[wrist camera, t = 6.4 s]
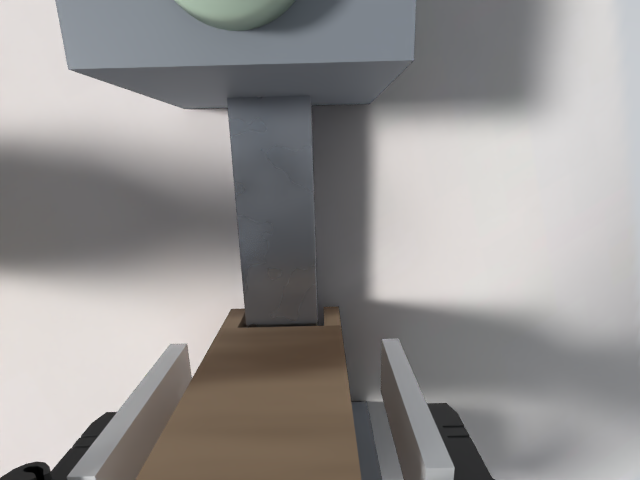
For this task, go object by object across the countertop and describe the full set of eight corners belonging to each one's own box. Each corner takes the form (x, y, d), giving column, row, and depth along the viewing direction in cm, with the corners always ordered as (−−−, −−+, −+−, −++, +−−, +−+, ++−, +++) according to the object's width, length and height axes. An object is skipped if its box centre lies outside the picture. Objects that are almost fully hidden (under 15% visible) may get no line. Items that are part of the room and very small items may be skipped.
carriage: (231, 309, 16) (130, 488, 7) (338, 306, 16) (361, 482, 7) (240, 400, 17) (162, 646, 9) (339, 398, 17) (361, 641, 9)
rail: (241, 107, 15) (226, 97, 12) (311, 105, 15) (310, 95, 12) (264, 404, 18) (256, 442, 16) (320, 402, 18) (320, 440, 16)
